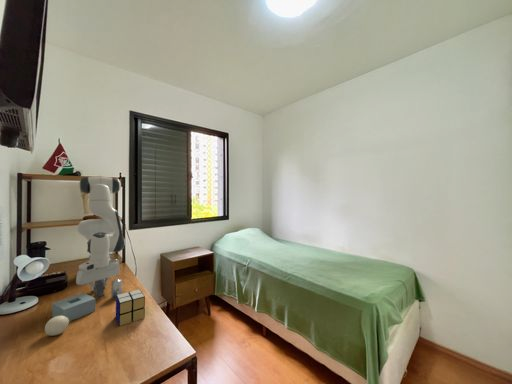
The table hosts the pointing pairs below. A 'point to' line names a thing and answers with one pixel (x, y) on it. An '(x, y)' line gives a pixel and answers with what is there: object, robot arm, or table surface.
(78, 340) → the table surface
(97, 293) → the square bit
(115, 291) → the round bit
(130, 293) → the puzzle cube
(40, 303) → the table surface
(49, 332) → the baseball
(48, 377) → the table surface
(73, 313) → the socket block
